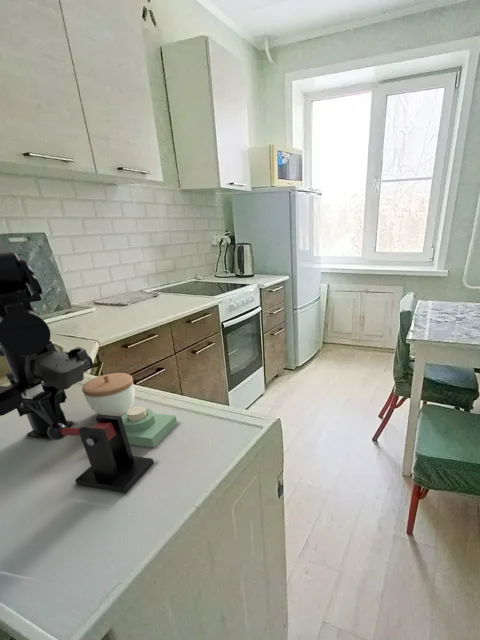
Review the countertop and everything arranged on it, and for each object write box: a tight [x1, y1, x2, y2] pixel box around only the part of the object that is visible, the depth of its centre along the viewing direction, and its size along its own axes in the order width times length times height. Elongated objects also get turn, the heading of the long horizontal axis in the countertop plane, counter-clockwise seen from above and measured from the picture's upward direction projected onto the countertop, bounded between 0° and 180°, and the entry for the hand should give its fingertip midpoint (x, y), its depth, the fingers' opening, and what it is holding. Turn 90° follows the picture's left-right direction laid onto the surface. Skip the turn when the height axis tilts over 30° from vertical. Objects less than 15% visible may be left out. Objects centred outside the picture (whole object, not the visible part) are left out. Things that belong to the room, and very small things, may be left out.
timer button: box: [127, 405, 147, 422], centre depth 74 cm, size 4×4×2 cm
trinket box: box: [81, 372, 136, 416], centre depth 82 cm, size 11×11×9 cm
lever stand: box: [74, 414, 155, 494], centre depth 61 cm, size 10×8×11 cm
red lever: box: [47, 422, 116, 441], centre depth 61 cm, size 13×3×3 cm, turn 75°
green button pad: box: [121, 408, 178, 448], centre depth 75 cm, size 12×9×4 cm
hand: (54, 424), depth 62 cm, fingers closed
